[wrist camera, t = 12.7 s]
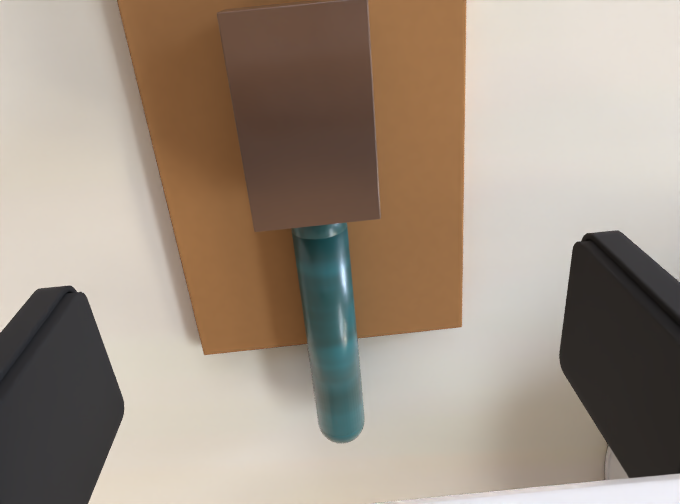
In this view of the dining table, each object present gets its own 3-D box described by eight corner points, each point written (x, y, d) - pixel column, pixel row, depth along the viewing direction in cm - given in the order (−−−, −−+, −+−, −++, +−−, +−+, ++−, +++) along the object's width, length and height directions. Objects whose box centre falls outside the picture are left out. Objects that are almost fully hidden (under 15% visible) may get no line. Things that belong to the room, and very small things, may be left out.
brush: (230, 6, 19) (216, 12, 16) (357, -6, 19) (368, -3, 16) (298, 424, 28) (297, 481, 24) (385, 415, 28) (396, 470, 24)
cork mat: (80, -179, 17) (70, -186, 16) (463, -214, 17) (469, -223, 17) (206, 345, 26) (203, 355, 25) (457, 318, 26) (461, 327, 26)
